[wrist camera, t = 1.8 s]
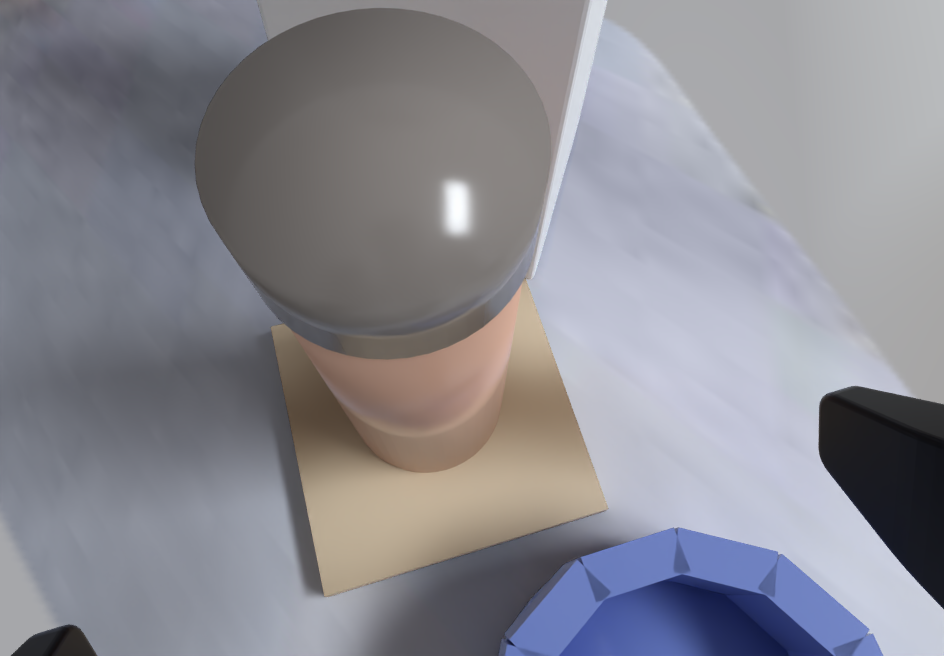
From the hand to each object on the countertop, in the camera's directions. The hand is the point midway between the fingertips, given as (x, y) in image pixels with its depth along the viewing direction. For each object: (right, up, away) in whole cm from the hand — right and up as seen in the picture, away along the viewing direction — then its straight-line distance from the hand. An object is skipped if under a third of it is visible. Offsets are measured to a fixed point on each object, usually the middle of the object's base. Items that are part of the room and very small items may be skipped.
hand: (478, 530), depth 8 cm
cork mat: (-1, 0, +12) cm, 12 cm away
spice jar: (-1, 0, +12) cm, 12 cm away
